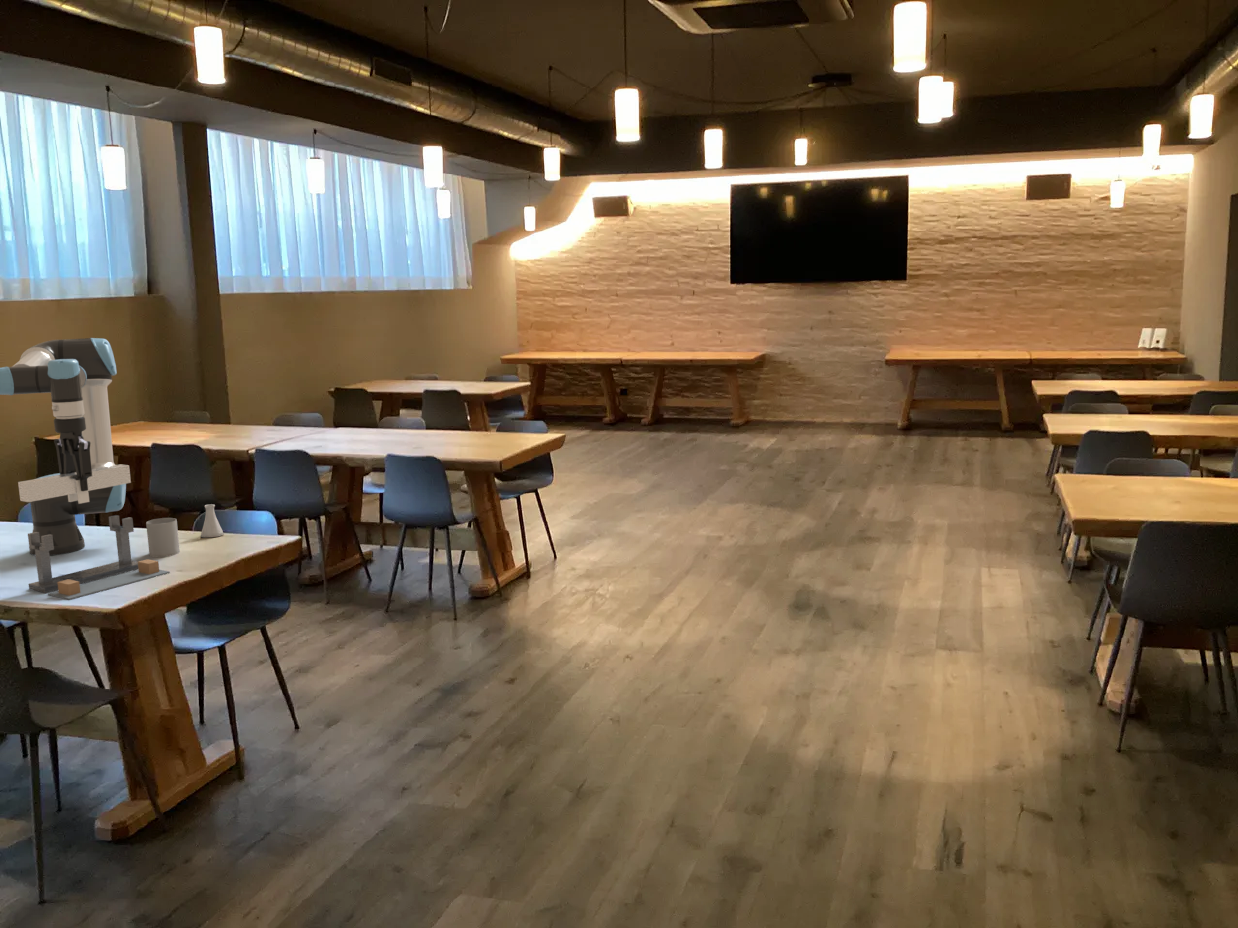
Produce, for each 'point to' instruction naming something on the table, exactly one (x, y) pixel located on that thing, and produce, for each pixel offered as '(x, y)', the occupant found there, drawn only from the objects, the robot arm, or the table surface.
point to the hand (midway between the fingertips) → (78, 501)
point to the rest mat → (108, 581)
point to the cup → (162, 537)
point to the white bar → (72, 483)
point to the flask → (211, 523)
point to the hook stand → (88, 575)
